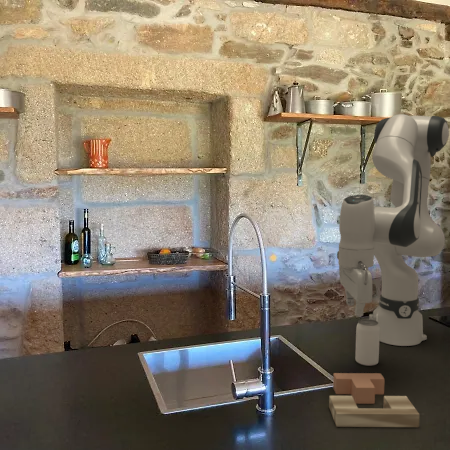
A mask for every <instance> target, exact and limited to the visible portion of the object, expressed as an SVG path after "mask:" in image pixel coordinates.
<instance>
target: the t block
mask: <svg viewBox="0 0 450 450" xmlns="http://www.w3.org/2000/svg"><path fill="white" fill-rule="evenodd" d="M332 382H333V384H332V385H333V386H332V387H333V390H334V393H335V395H350V396H352V397H353V399H354V401H355V403H356V405H358V404H363V405H366V404H368V405H369V404H371V405H372V404H373V405H375V401H376V398H375V397H376V395H385V378H384V376H383V375H382V373H377V372H375V373H373V372H372V373H371V372H370V373H369V372H368V373H367V372H365V373H364V372H361V373H360V372H356V373H353V372H349V373H347V372H343V373H342V372H340V373H339V372H333V380H332Z"/></svg>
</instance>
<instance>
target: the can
mask: <svg viewBox="0 0 450 450" xmlns="http://www.w3.org/2000/svg"><path fill="white" fill-rule="evenodd" d="M357 322H358V323H357V324H356V327H355V328H356V329H355V330H356V331H355V333H356V334H355V356H354V357H355V361H356V363H357V364H359V365H361V366H365V367H372V366H376V365H377V364H378V363H379V358H380V357H379V356H380V355H379V354H380V341H379V335H380V328H379V325H378V322H377V321H375V320H371V319H369V318H362V319H361V318H360V319H358V321H357Z"/></svg>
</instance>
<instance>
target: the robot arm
mask: <svg viewBox="0 0 450 450" xmlns="http://www.w3.org/2000/svg"><path fill="white" fill-rule="evenodd" d="M449 129H450V128H449V125H448V121H447V120H446V118H444V117H442V116H439V115H432V116H429V115H428V116H427V115H408V114H404V113H399V114H394V115H393V116H390V117H387V118H383V119H381V120H379V122H377V123H376V125H375V128H374V134H373V135H374V137H373V138H374V139H373V140H374V143H375V146H374V149H373V150H372V152H373V153H372V159H371V160H372V163H373V166H374V167H375V169H376V171H378V172H379V173H380V174H381V175H383V176H384V177H386V178H388V179H391V180H392V183H391V184H392V185H391V188H390V189H391V190H390V197H389V199H390V201H391V204H392V205H393V206H394V207H390V206H388V207H387V206H376V205H374V204H375V203H374V199H373V197H372V196H370V195H368V194H354V195H347V197H345V198H344V199H343V200H342V204H341V209H340V213H339V214H340V215H339V226H338V227H339V234H340V240H339V243H338V251H336V258H337V260H338V261H337V262H338V270H339V271H338V272H339V281H340V285H342V286H343V288H344V291H345V296H346V305H348V306H349V307H352V306H354V305H355V307H354V315H355V316H357V317H363V316H364V309H365V306H366V304H368V303H369V304H370V303H371V302H372V300H373V276H372V273H371V271H370V270H369V268H371V267H374V261H375V260H374V259H376V261H377V262H378V266H379V269H380V273H381V274H380V275H381V294H380V296H379V299H378V301H379V302H378V306H377V307H376V308H375V309H374V310H373V312H372V313H370V314H369V315H368V319H371V320H375V321H377V322H378V325H379V328H380V335H379V342H381V343H383V344H387V345H393V346H399V347H400V346H401V347H407V346H408V347H409V346H416V345H419V344H421V342H422V341H425V340H426V341H427V340H428V338H427V335H426V334H424V332H423V330H424V328H423V327H424V326H423V325H424V324H423V322H424V321H423V314H422V313H421V312H420V311H419V309H420V308H419V307H420V306H419V305H420V300H419V297H418V296H419V295H418V294H419V293H418V291H419V275H418V273H417V271H416V270H415V269H414V268H413V267H412V266H410V265H408V264H407V263H406V262H405V260H404V258H403V256H405V257H406V256H408V257H414V258H415V257H416V258H428V257H429V258H430V257H436V256H438V255H439V254H440V253H441V252H442V251H443V249H444V246H445V242H446V238H445V233H444V231H443V229H442V228H441V227H440V226H439V225H438V224H437V223H436V222H435V221H434V220H433V218H432V216H431V214H430V212H429V211H430V210H429V208H428V195H429V185H430V181H431V179H430V178H431V171H432V170H431V169H432V168H431V167H432V166H431V164H432V163H431V162H432V161H431V158H432V157H435V156H436V154H437V153H439V152H440V151H441V150H443V148H444V147H445V146H446V145H447V141H448V139H449V136H450V130H449ZM374 257H375V258H374Z"/></svg>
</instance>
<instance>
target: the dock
mask: <svg viewBox="0 0 450 450" xmlns="http://www.w3.org/2000/svg"><path fill="white" fill-rule="evenodd" d="M328 401H329V403H328V407H329V411H330V413H331V416H332V419H333V421H334V423H335V427H336V428H338V427H340V428H344V427H345V428H348V427H349V428H350V427H351V428H353V427H354V428H356V427H357V428H420V414H421V413H419V412H418V410H417V408H415V406H414V405H413V403H412V402H411V401H410V399H409V398H408V396H407V395H384V396H383V408H382V407H381V408H374V407H373V408H367V407H366V408H360V407H358V406H357V405H358V404H356V403H355V401H354V399H353V397H352V395H329V399H328Z"/></svg>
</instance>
